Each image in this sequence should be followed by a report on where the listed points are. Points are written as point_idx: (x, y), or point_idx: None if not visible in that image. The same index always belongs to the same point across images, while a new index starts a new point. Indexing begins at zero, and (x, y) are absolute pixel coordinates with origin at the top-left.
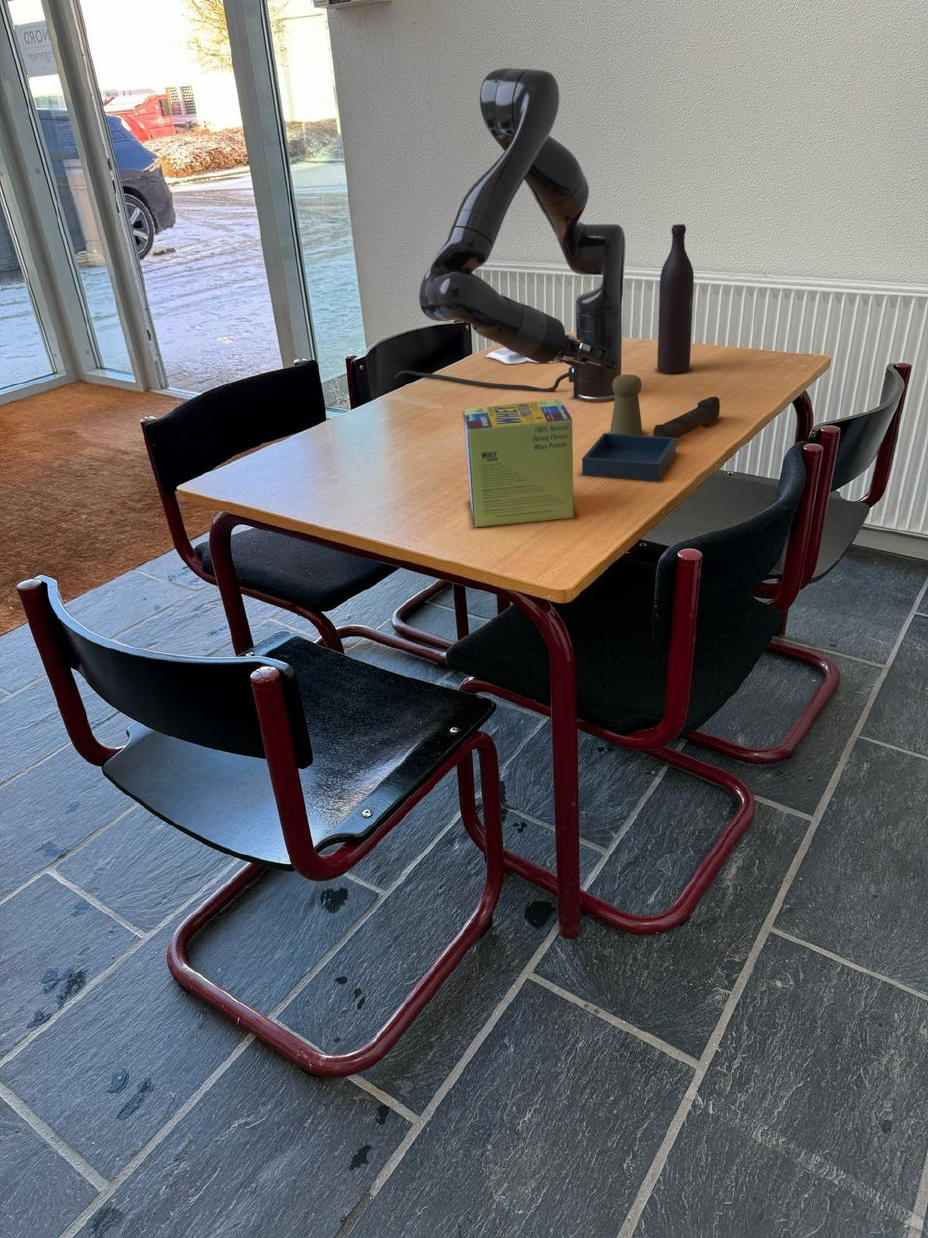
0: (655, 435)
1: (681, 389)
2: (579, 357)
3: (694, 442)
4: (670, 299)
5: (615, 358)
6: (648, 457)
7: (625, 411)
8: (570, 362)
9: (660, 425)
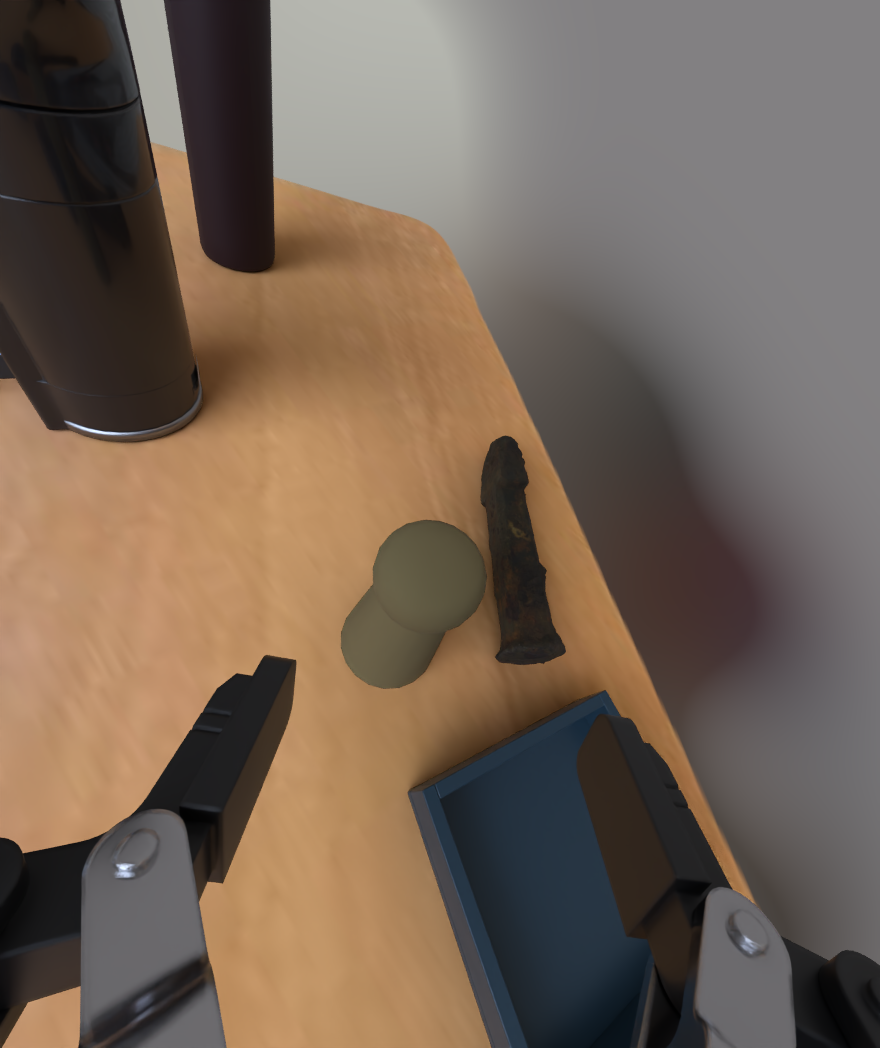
0: (510, 659)
1: (320, 340)
2: (276, 708)
3: (549, 603)
4: (222, 48)
5: (635, 736)
6: (574, 791)
7: (431, 646)
8: (241, 827)
9: (537, 649)
